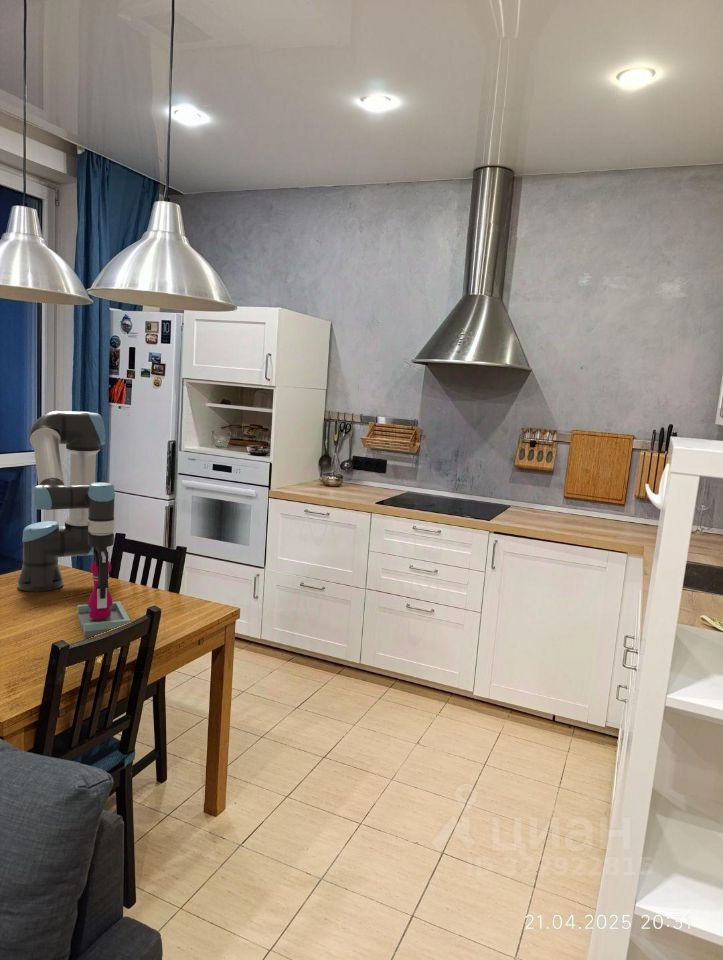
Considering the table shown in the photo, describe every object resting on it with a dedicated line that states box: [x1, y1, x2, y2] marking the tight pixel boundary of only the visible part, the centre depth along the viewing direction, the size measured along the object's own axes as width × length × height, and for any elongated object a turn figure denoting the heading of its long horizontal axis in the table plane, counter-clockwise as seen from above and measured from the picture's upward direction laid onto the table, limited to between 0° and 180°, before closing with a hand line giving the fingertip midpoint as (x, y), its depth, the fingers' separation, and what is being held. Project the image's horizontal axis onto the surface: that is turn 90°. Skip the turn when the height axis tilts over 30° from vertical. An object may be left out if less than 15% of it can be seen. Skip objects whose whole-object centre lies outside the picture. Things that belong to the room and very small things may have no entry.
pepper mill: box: [87, 560, 114, 619], centre depth 207 cm, size 7×7×20 cm
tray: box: [77, 600, 131, 639], centre depth 209 cm, size 19×13×4 cm
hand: (100, 603), depth 207 cm, fingers closed on pepper mill, 7 cm apart
